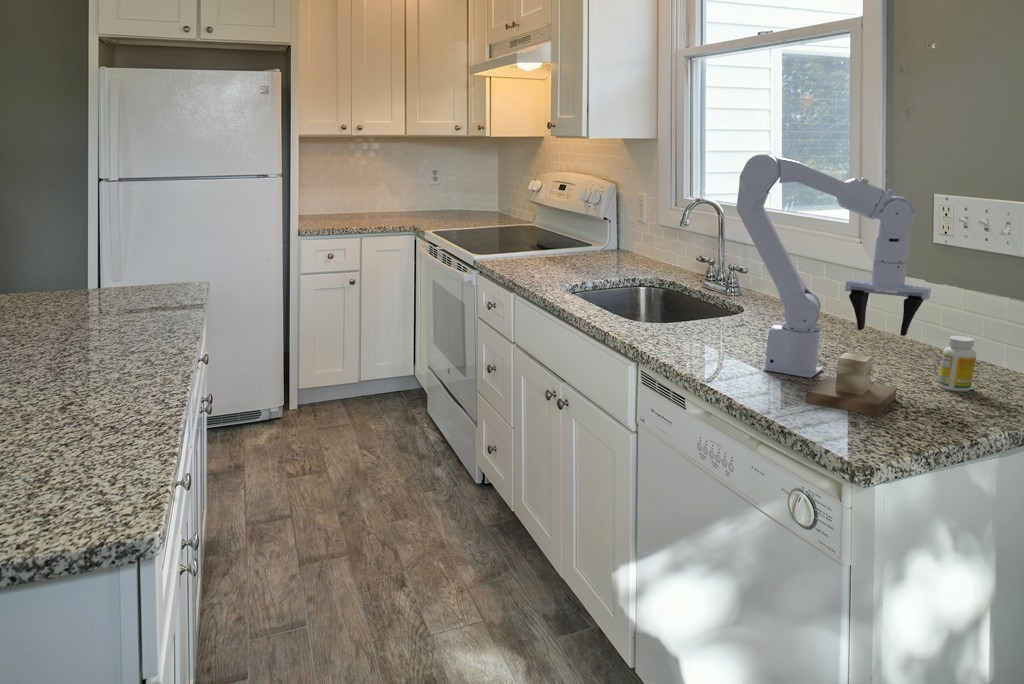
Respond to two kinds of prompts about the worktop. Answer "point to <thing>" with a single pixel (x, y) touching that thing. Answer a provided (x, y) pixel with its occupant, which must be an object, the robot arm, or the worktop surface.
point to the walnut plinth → (852, 397)
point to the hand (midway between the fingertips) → (881, 332)
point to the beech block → (853, 373)
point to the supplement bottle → (958, 364)
